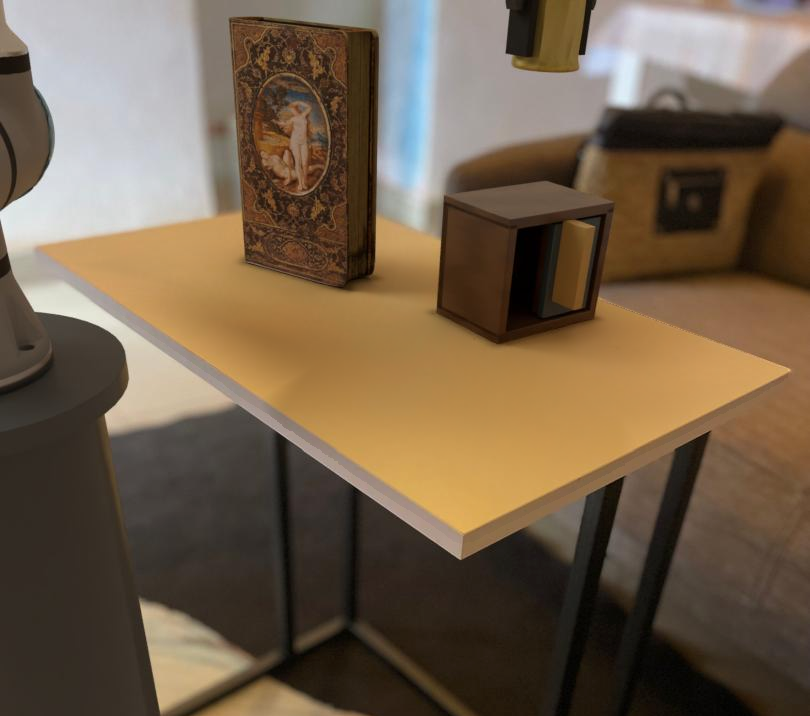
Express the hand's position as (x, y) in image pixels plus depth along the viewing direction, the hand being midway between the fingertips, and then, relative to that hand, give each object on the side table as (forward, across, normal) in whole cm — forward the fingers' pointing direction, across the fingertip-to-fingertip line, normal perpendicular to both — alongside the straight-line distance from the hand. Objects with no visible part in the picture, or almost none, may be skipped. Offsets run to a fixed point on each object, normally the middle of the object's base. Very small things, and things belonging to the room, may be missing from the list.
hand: (545, 53), depth 74 cm
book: (+25, -11, +25) cm, 37 cm away
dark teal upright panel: (+23, +4, -5) cm, 24 cm away
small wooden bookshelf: (+25, +1, +1) cm, 25 cm away
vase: (+1, 0, 0) cm, 1 cm away
